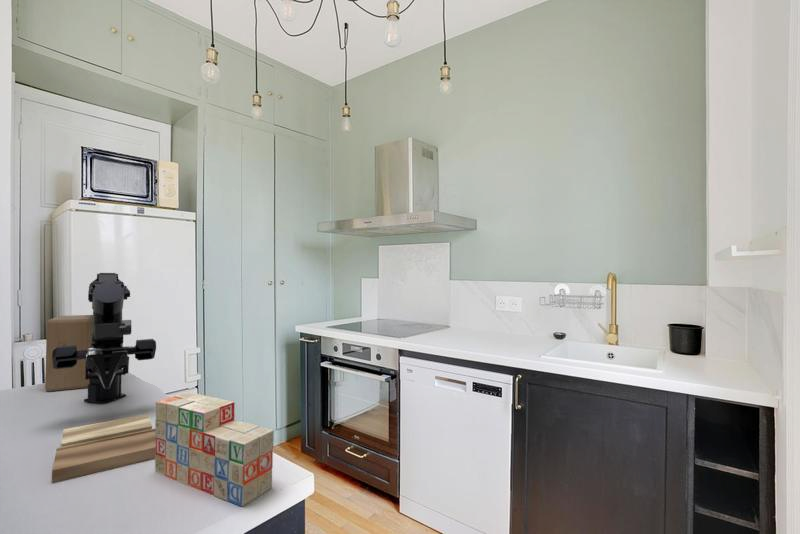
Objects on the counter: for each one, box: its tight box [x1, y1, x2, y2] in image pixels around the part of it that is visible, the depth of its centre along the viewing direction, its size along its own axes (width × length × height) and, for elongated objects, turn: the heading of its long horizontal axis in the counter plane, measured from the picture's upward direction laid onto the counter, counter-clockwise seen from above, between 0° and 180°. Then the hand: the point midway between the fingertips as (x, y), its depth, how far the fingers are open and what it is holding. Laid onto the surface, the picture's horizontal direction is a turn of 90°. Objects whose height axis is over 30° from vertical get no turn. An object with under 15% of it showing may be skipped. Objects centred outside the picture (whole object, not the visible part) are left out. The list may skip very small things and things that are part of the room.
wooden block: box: [44, 314, 93, 392], centre depth 114 cm, size 10×10×20 cm
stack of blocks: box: [154, 391, 275, 507], centre depth 65 cm, size 21×6×12 cm, turn 63°
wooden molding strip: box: [51, 427, 156, 484], centre depth 72 cm, size 10×15×2 cm, turn 128°
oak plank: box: [60, 413, 153, 447], centre depth 79 cm, size 3×14×8 cm
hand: (106, 388), depth 86 cm, fingers closed
